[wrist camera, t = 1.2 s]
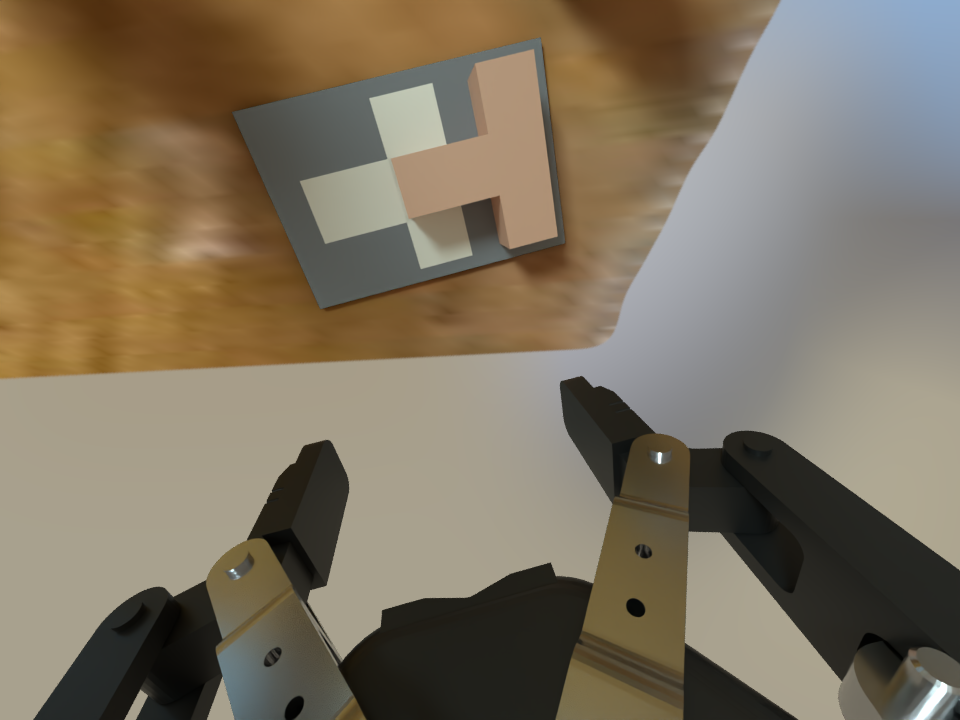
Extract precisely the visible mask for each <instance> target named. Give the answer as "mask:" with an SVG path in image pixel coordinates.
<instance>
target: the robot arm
mask: <svg viewBox="0 0 960 720" xmlns="http://www.w3.org/2000/svg"><path fill="white" fill-rule="evenodd" d="M560 391H561V400H562V408H563V417H564V423H565V426H566V429H567V432H568V434H569V436H570V437H571V439H572V441H573V442H574V443H575V445H576V447H577V448H578V450H579V451H580V453H581V455H582V456H583V458H584V459H585V461H586V463H587V464H588V466H589V467H590V469H591V470H592V472H593V474H594V475H595V477H596V478H597V480H598V482H599V483H600V484H601V486H602V488H603V489H604V491H605V493H606V494H607V496H608V497H609V499H610V501H611V502H612V504H613V505H612V509H611V513H610V517H609V522H608V525H607V530H606V533H605V538H604V542H603V546H602V550H601V554H600V558H599V562H598V566H597V571H596V575H595V579H594V583H590V582H587V581H585V580H581V579H577V578H572V577H562V576H555V573H554V570H553V568H552V565H551V563H547V564H544V565H540V566H537V567H533V568H530V569H526V570H523V571H519V572H516V573H512V574H510V575H508V576H506V577H505V578H502V579H501V580H499V581H497V582H496V583H494V584H492V585H490V586H489V587H487V588H485V589H484V590H482V591H480V592H478V593H477V594H475V595H473V596H471V597H468V598H424V599H420V600H416V601H413V602H409V603H406V604H402V605H399V606H395V607H392V608H388V609H385V610H382V620H381V627H380V628H378V629H377V630H375V631H374V632H372V633H371V634H370V635H368V636H367V637H365V638H364V639H363V640H362V641H361V642H360V643H359V644H358V645H356V646H355V647H354V648H353V650H352V651H351V652H350V653H349V654H348V655H347V656H346V657H345V658H344V660H342V658H341V656H340V655H339V653H338V652H337V650H336V648H335V647H334V645H333V643H332V642H331V640H330V638H329V636H328V635H327V633H326V632H325V630H324V628H323V626H322V625H321V623H320V621H319V620H318V618H317V616H316V615H315V613H314V611H313V610H312V608H311V606H310V605H309V603H308V602H307V600H308V596H309V592H310V590H312V589H316V588H320V587H323V586H326V585H327V581H328V577H329V573H330V568H331V565H332V561H333V556H334V552H335V548H336V544H337V540H338V535H339V531H340V527H341V522H342V519H343V514H344V510H345V506H346V502H347V498H348V493H349V481H348V477H347V474H346V472H345V470H344V467H343V465H342V463H341V461H340V459H339V457H338V455H337V453H336V450H335V448H334V446H333V444H332V443H331V441H329V440H324V441H320V442H316V443H312V444H309V445H305V446H304V447H303V448H302V450H301V452H300V454H299V456H298V459H297V461H296V463H294V464H291V465H290V466H289V467H288V468H287V469H286V470H285V471H284V472H283V473H282V474H281V475H280V476H279V477H278V480H277V481H276V483H275V485H274V487H273V489H272V493H270V495H269V497H268V499H267V504H265V505H264V507H263V509H262V511H261V513H260V515H259V517H258V519H257V521H256V523H255V525H254V527H253V529H252V531H251V533H250V535H249V537H248V539H247V541H245V542H242V543H240V544H238V545H237V546H235V547H233V548H232V549H231V550H229V551H228V552H226V553H225V554H224V555H223V556H222V557H221V558H220V559H219V560H218V561H217V562H216V563H215V565H214V566H213V567H212V569H211V570H210V572H209V574H208V577H207V580H206V581H204V582H202V583H200V584H198V585H196V586H194V587H192V588H190V589H188V590H186V591H185V592H182V593H180V594H178V595H177V596H174V597H173V596H172V595H170V593H169V592H168V591H167V590H166V589H165V588H163V587H153V588H150V589H147V590H144V591H142V592H140V593H138V594H136V595H134V596H133V597H131V598H129V599H128V600H126V601H125V602H124V603H122V604H121V605H120V606H119V607H117V608H116V609H115V610H114V611H113V612H112V613H111V614H110V615H109V616H108V617H107V618H106V619H105V620H104V621H103V622H102V623H101V624H100V626H99V627H98V628H97V630H96V631H95V633H94V634H93V636H92V637H91V638H90V640H89V641H88V642H87V644H86V645H85V647H84V648H83V650H82V651H81V653H80V654H79V655H78V657H77V658H76V660H75V661H74V662H73V664H72V665H71V667H70V668H69V670H68V671H67V673H66V674H65V676H64V677H63V678H62V680H61V681H60V682H59V684H58V686H57V687H56V688H55V690H54V691H53V693H52V694H51V695H50V697H49V698H48V700H47V701H46V703H45V704H44V705H43V707H42V708H41V710H40V711H39V712H38V714H37V715H36V717H35V718H34V720H124V719H125V717H126V715H127V714H128V712H129V710H130V708H131V706H132V704H133V702H134V700H135V698H136V696H137V694H138V693H139V691H140V689H141V690H142V691H143V692H144V693H146V694H147V695H148V697H147V699H146V701H145V703H144V705H143V707H142V709H141V711H140V713H139V715H138V717H137V719H136V720H207V717H208V715H209V712H210V709H211V706H212V703H213V701H214V698H215V696H216V692H217V690H218V687H219V685H220V682H221V679H222V676H223V679H224V683H225V686H226V690H227V693H228V697H229V701H230V704H231V708H232V711H233V715H234V719H235V720H798V719H797V718H795V717H794V716H792V715H791V714H789V713H788V712H786V711H785V710H783V709H782V708H780V707H779V706H777V705H776V704H775V703H773V702H771V701H770V700H769V699H767V698H766V697H764V696H763V695H761V694H760V693H758V692H757V691H755V690H754V689H752V688H751V687H749V686H748V685H746V684H745V683H743V682H742V681H741V680H739V679H738V678H736V677H735V676H733V675H732V674H730V673H729V672H727V671H726V670H724V669H723V668H721V667H720V666H718V665H717V664H715V663H714V662H712V661H711V660H709V659H708V658H707V657H705V656H703V655H702V654H701V653H699V652H698V651H696V650H695V649H693V648H692V647H690V646H689V645H687V644H686V643H685V623H686V592H687V562H688V532H689V531H692V532H720V533H721V534H722V535H723V537H724V538H725V539H726V540H727V541H728V543H729V544H730V545H731V546H732V547H733V549H734V550H735V551H736V552H737V554H738V555H739V556H740V557H741V558H742V560H743V561H744V562H745V563H746V565H747V566H748V567H749V568H750V570H751V571H752V572H753V573H754V575H755V576H756V577H757V578H758V579H759V581H760V582H761V583H762V584H763V586H765V588H766V589H767V590H768V592H769V593H770V594H771V595H772V596H773V598H774V599H775V600H776V601H777V602H778V604H779V605H780V606H781V608H782V609H783V610H784V611H785V612H786V614H787V615H788V616H789V617H790V619H791V620H792V621H793V622H794V623H795V625H796V626H797V627H798V628H799V630H800V631H801V632H802V633H803V634H804V636H805V637H806V638H807V639H808V640H809V642H810V643H811V644H812V645H813V647H814V648H815V649H816V650H817V651H818V653H819V654H820V655H821V656H822V658H823V659H824V660H825V661H826V662H827V664H828V665H829V666H830V667H831V669H832V670H833V671H834V672H835V674H836V675H837V676H838V677H839V678H840V680H841V681H842V683H841V685H840V688H839V695H838V699H839V705H840V708H841V711H842V714H843V716H844V718H845V720H960V571H959V569H957V568H956V567H954V566H953V565H952V564H950V563H949V562H948V561H946V560H945V559H943V558H942V557H941V556H939V555H938V554H936V553H935V552H934V551H932V550H931V549H930V548H928V547H927V546H926V545H924V544H923V543H921V542H920V541H919V540H917V539H916V538H915V537H913V536H912V535H911V534H909V533H908V532H906V531H905V530H904V529H902V528H901V527H900V526H898V525H897V524H895V523H894V522H893V521H891V520H890V519H889V518H887V517H886V516H884V515H883V514H882V513H880V512H879V511H878V510H876V509H875V508H873V507H872V506H871V505H869V504H868V503H867V502H865V501H864V500H863V499H861V498H860V497H858V496H857V495H856V494H854V493H853V492H852V491H850V490H849V489H847V488H846V487H845V486H843V485H842V484H841V483H839V482H838V481H836V480H835V479H834V478H832V477H831V476H830V475H828V474H827V473H826V472H824V471H823V470H821V469H820V468H819V467H817V466H816V465H815V464H813V463H812V462H810V461H809V460H808V459H806V458H805V457H804V456H802V455H801V454H799V453H798V452H797V451H795V450H794V449H792V448H791V447H790V446H788V445H787V444H786V443H784V442H783V441H781V440H780V439H778V438H776V437H773V436H771V435H768V434H765V433H761V432H754V431H738V432H734V433H731V434H729V435H728V436H726V438H725V439H724V441H723V448H715V449H714V448H713V449H711V448H710V449H691V448H687V447H686V445H685V444H684V443H683V442H681V441H680V440H678V439H676V438H674V437H672V436H668V435H664V434H656V433H655V432H654V431H653V430H652V429H651V428H650V427H649V426H648V425H647V424H646V423H645V422H644V421H643V420H642V419H641V418H640V417H639V416H638V415H637V414H636V413H635V412H634V411H633V410H630V407H629V406H628V405H627V404H626V403H625V402H623V400H622V399H621V398H620V397H619V396H617V394H616V393H615V392H613V391H611V390H609V389H606V388H604V387H602V386H599V387H595V388H593V387H592V386H591V385H590V384H589V383H588V381H587V380H586V379H585V378H584V377H582V376H580V377H576V378H572V379H568V380H564V381H561V383H560Z"/></svg>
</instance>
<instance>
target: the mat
mask: <svg viewBox="0 0 960 720" xmlns="http://www.w3.org/2000/svg"><path fill="white" fill-rule="evenodd" d="M532 49H534V54H535V62H536V70H537V77H538V85H539V93H540V101H541V109H542V117H543V124H544V132H545V140H546V148H547V156H548V164H549V171H550V179H551V187H552V195H553V203H554V211H555V219H556V226H557V234H558V236H557V237H554V238H550V239H546V240H542V241H539V242H535V243H531V244H528V245H524V246H520V247H516V248H513V249H509V248H507V247H505V246H503V245H502V244H500V243H499V238H498V233H497V228H496V223H495V218H494V213H493V208H492V203H491V198H488V199H484V200H480V201H476V202H472V203H469V204H465V205H461V206H457V207H453V208H449V209H446V210H442V211H438V212H434V213H430V214H426V215H423V216H419V217H415V218H411V219H409V218H408V214H407V211H406V208H405V204H404V201H403V198H402V194H401V191H400V188H399V184H398V181H397V178H396V174H395V171H394V168H393V164H392V161H391V158H395V157H399V156H403V155H407V154H411V153H415V152H419V151H423V150H427V149H431V148H435V147H439V146H443V145H447V144H451V143H454V142H458V141H462V140H466V139H470V138H474V137H478V132H477V127H476V122H475V117H474V112H473V107H472V102H471V97H470V92H469V87H468V82H467V81H468V79H469V76H470V74H471V72H472V69H473V67H474V65H475V63H479V62H483V61H487V60H491V59H495V58H499V57H503V56H508V55H512V54H516V53H520V52H524V51H528V50H532ZM232 114H233V116H234V118H235V120H236V122H237V125H238V127H239V129H240V131H241V134H242V136H243V138H244V140H245V142H246V145H247V147H248V149H249V151H250V154H251V156H252V158H253V160H254V162H255V165H256V167H257V169H258V171H259V174H260V176H261V178H262V180H263V183H264V185H265V187H266V189H267V191H268V194H269V196H270V198H271V200H272V203H273V205H274V207H275V209H276V211H277V214H278V216H279V218H280V220H281V223H282V225H283V227H284V229H285V232H286V234H287V236H288V238H289V240H290V243H291V245H292V247H293V249H294V252H295V254H296V256H297V258H298V260H299V263H300V265H301V267H302V269H303V272H304V274H305V276H306V278H307V280H308V283H309V285H310V287H311V289H312V292H313V294H314V296H315V298H316V301H317V303H318V305H319V307H320V309H322V308H326V307H330V306H334V305H337V304H341V303H345V302H348V301H352V300H356V299H360V298H363V297H367V296H371V295H374V294H378V293H382V292H386V291H389V290H393V289H397V288H401V287H404V286H408V285H412V284H415V283H419V282H423V281H427V280H430V279H434V278H438V277H441V276H445V275H449V274H453V273H456V272H460V271H464V270H467V269H471V268H475V267H479V266H482V265H486V264H490V263H493V262H497V261H501V260H505V259H508V258H512V257H516V256H519V255H523V254H527V253H531V252H534V251H538V250H542V249H545V248H549V247H553V246H557V245H560V244H564V243H565V237H564V228H563V220H562V212H561V203H560V195H559V187H558V178H557V170H556V162H555V153H554V145H553V136H552V128H551V120H550V111H549V103H548V95H547V86H546V78H545V70H544V61H543V53H542V44H541V38H536V39H532V40H528V41H524V42H520V43H516V44H512V45H508V46H503V47H499V48H495V49H491V50H487V51H483V52H479V53H474V54H470V55H466V56H462V57H458V58H454V59H450V60H445V61H441V62H437V63H433V64H429V65H425V66H421V67H417V68H412V69H408V70H404V71H400V72H396V73H392V74H388V75H383V76H379V77H375V78H371V79H367V80H363V81H359V82H354V83H350V84H346V85H342V86H338V87H334V88H330V89H326V90H321V91H317V92H313V93H309V94H305V95H301V96H297V97H292V98H288V99H284V100H280V101H276V102H272V103H268V104H264V105H259V106H255V107H251V108H247V109H243V110H239V111H235V112H232Z"/></svg>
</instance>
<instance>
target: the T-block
mask: <svg viewBox="0 0 960 720" xmlns="http://www.w3.org/2000/svg"><path fill="white" fill-rule="evenodd" d="M467 82H468V87H469V92H470V97H471V102H472V107H473V112H474V117H475V122H476V127H477V132H478V137H474V138H470V139H466V140H462V141H458V142H454V143H451V144H447V145H443V146H439V147H435V148H431V149H427V150H423V151H419V152H415V153H411V154H407V155H403V156H399V157H395V158H391V161H392V164H393V168H394V171H395V174H396V178H397V181H398V184H399V188H400V191H401V194H402V198H403V201H404V204H405V208H406V211H407V214H408V218H409V219H411V218H415V217H419V216H423V215H426V214H430V213H434V212H438V211H442V210H446V209H449V208H453V207H457V206H461V205H465V204H469V203H472V202H476V201H480V200H484V199H488V198H491V203H492V208H493V213H494V218H495V223H496V228H497V233H498V238H499V243H500V244H502V245H503V246H505V247H507V248H509V249H513V248H516V247H520V246H524V245H528V244H531V243H535V242H539V241H542V240H546V239H550V238H554V237H557V236H558V234H557V226H556V219H555V211H554V203H553V195H552V187H551V179H550V171H549V164H548V156H547V148H546V140H545V132H544V124H543V117H542V109H541V101H540V93H539V85H538V77H537V70H536V62H535V54H534V49H532V50H528V51H524V52H520V53H516V54H512V55H508V56H503V57H499V58H495V59H491V60H487V61H483V62H479V63H475V65H474V67H473V69H472V72H471V74H470V76H469V79H468V81H467Z"/></svg>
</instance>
